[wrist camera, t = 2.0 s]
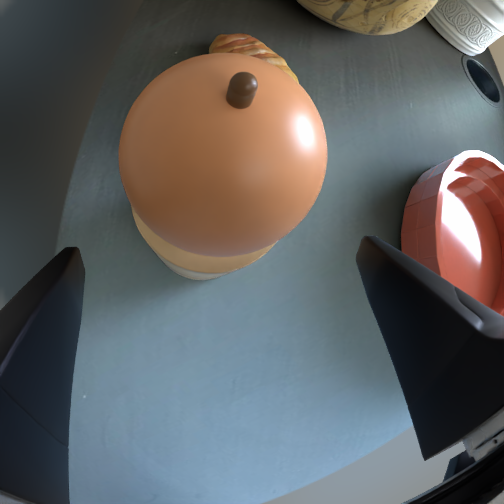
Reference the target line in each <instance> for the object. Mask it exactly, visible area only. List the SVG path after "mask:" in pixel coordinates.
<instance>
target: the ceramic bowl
mask: <svg viewBox="0 0 504 504" xmlns="http://www.w3.org/2000/svg"><path fill="white" fill-rule="evenodd" d="M296 1H297V2H298V3H300V4H301V5H302V6H303V7H304V8H305V9H306V10H308V11H309V12H311V13H312V14H314V15H315V16H317V17H318V18H320V19H322V20H324V21H326V22H328V23H330V24H332V25H334V26H336V27H339V28H342V29H345V30H348V31H351V32H354V33H359V34H364V35H387V34H393V33H396V32H400V31H402V30H404V29H407V28H409V27H411V26H412V25H413V24H415V23H416V22H418V21H419V20H421V19H422V18H423V17H424V16H426V15H427V13H428V12H429V11H430V10H431V9H432V8H433V7H434V5H435V4H436V3H437V1H438V0H296Z"/></svg>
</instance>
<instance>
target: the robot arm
mask: <svg viewBox="0 0 504 504" xmlns="http://www.w3.org/2000/svg"><path fill="white" fill-rule="evenodd" d="M356 263H357V266H358V269H359V272H360V275H361V279H362V282H363V285H364V288H365V292H366V295H367V298H368V301H369V303H370V306H371V308H372V311H373V313H374V316H375V318H376V321H377V323H378V326H379V328H380V331H381V333H382V336H383V338H384V341H385V344H386V346H387V349H388V352H389V354H390V357H391V360H392V363H393V365H394V368H395V371H396V374H397V376H398V379H399V382H400V385H401V388H402V391H403V394H404V397H405V400H406V403H407V406H408V409H409V413H410V416H411V419H412V422H413V425H414V428H415V432H416V435H417V438H418V442H419V445H420V449H421V452H422V455H423V458H424V460H425V461H426V460H427V459H429V458H432V457H434V456H436V455H438V454H439V453H441V452H443V451H445V450H447V449H448V448H451V447H452V446H454V445H456V444H458V443H459V442H461V441H463V444H464V446H465V448H466V450H465V451H464V452H462V453H461V454H459V455H457V456H455V457H454V458H452V459H450V461H449V465H448V468H447V471H446V474H445V477H444V480H443V482H442V483H441V484H439V485H437V486H435V487H433V488H431V489H430V490H428V491H426V492H424V493H422V494H420V495H418V496H416V497H414V498H412V499H410V500H408V501H406V502H404V503H402V504H504V317H503V316H502V315H500V314H498V313H497V312H495V311H494V310H492V309H490V308H489V307H487V306H485V305H484V304H482V303H481V302H479V301H477V300H476V299H474V298H473V297H471V296H470V295H468V294H467V293H465V292H464V291H462V290H461V289H459V288H458V287H456V286H454V285H453V284H452V283H450V282H449V281H447V280H445V279H444V278H442V277H441V276H439V275H438V274H436V273H435V272H433V271H432V270H430V269H429V268H427V267H425V266H424V265H422V264H421V263H419V262H417V261H416V260H414V259H413V258H411V257H409V256H408V255H406V254H405V253H403V252H401V251H400V250H398V249H396V248H395V247H393V246H391V245H390V244H388V243H386V242H385V241H383V240H381V239H380V238H378V237H376V236H364V237H363V238H362V240H361V243H360V246H359V249H358V251H357V254H356ZM84 282H85V268H84V264H83V261H82V257H81V254H80V250H79V248H77V247H66V248H64V249H63V250H62V251H61V252H60V253H59V254H57V255H56V256H55V257H54V258H53V259H52V260H51V261H50V262H49V263H48V264H47V265H46V266H45V267H43V269H41V270H40V271H39V272H38V273H37V274H36V275H35V276H34V277H33V278H32V279H31V280H30V281H29V282H28V283H27V284H26V285H25V286H24V287H23V288H22V289H21V290H20V291H19V292H18V293H17V294H16V295H15V296H14V297H13V298H12V299H11V300H10V301H9V302H8V303H7V304H6V305H5V306H4V307H3V308H2V310H0V504H70V500H69V472H68V452H69V449H68V445H69V420H70V405H71V393H72V383H73V373H74V365H75V357H76V350H77V343H78V337H79V331H80V325H81V317H82V305H83V292H84Z"/></svg>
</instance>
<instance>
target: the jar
mask: <svg viewBox="0 0 504 504" xmlns="http://www.w3.org/2000/svg"><path fill="white" fill-rule="evenodd" d="M425 17H426V18H427V20H428V21H429V22H430V23H431V25H432V26H433V27H434V28H435V29H436V30H437V31H438V32H439V33H440V34H441V35H442V36H443V37H444V38H445V39H446V40H447V41H448V42H449V43H450V44H452V45H453V46H454V47H456V48H457V49H458V50H460V51H461V52H463V53H465V54H467V55H470V56H475V55H477V54H480V53H482V52H483V51H485V49H486V48H487V47H488V46H489V45H490V44H491V43H493V42H494V41H495V40H497V39H498V38H500V37H501V36H502V35H503V34H504V0H438V1H437V3H436V4H435V5H434V7H433V8H432V9H431V10H430V11H429V12H428V13H427V15H426V16H425Z"/></svg>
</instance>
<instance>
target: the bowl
mask: <svg viewBox="0 0 504 504" xmlns="http://www.w3.org/2000/svg"><path fill="white" fill-rule="evenodd" d="M401 233H402V234H401V247H402V252H403V253H405V254H406V255H408V256H409V257H411V258H413V259H414V260H416V261H417V262H419V263H421V264H422V265H424V266H425V267H427V268H429V269H430V270H432V271H433V272H435V273H436V274H438V275H439V276H441V277H442V278H444V279H445V280H447V281H449V282H450V283H452V284H453V285H454V286H456V287H458V288H459V289H461V290H462V291H464V292H465V293H467V294H468V295H470V296H471V297H473V298H474V299H476V300H477V301H479V302H481V303H482V304H484V305H485V306H487V307H489V308H490V309H492V310H494V311H495V312H497V313H498V314H500V315H502V316H503V317H504V166H503V165H502V164H501V163H500V162H498V161H497V160H496V159H495V158H494V157H492V156H491V155H488V154H486V153H484V152H482V151H479V150H466V151H463V152H461V153H459V154H458V155H456V156H454V157H452V158H450V159H448V160H446V161H444V162H442V163H440V164H438V165H436V166H434V167H432V168H431V169H429V170H427V171H425V172H424V173H423V174H422V175H421V176H420V178H419V179H418V180H417V182H416V183H415V184H414V185H413V187H412V189H411V192H410V194H409V197H408V200H407V202H406V205H405V209H404V216H403V223H402V230H401Z"/></svg>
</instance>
